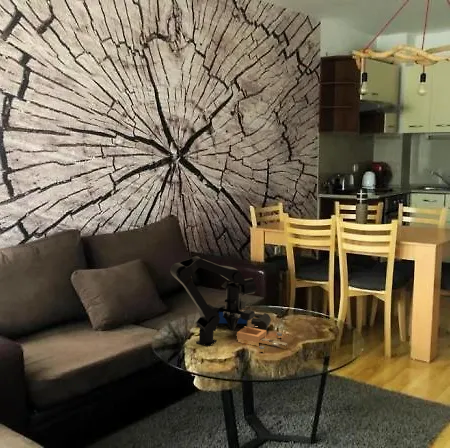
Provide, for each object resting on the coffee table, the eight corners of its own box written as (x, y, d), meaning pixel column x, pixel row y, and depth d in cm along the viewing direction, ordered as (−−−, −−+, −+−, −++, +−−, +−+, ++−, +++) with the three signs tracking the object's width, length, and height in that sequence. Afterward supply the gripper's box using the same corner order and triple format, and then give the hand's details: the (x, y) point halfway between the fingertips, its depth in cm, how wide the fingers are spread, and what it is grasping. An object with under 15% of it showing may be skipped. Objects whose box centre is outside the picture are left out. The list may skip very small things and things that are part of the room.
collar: (258, 347, 233) (258, 336, 232) (237, 342, 238) (237, 332, 237) (266, 340, 240) (266, 330, 239) (245, 336, 245) (245, 326, 244)
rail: (276, 356, 223) (277, 350, 223) (227, 345, 234) (227, 339, 234) (294, 341, 239) (294, 335, 238) (247, 331, 250) (247, 325, 250)
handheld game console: (248, 320, 264) (248, 302, 262) (246, 331, 251) (246, 311, 249) (215, 319, 265) (215, 301, 263) (211, 330, 252) (211, 310, 250)
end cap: (266, 335, 245) (266, 320, 244) (251, 334, 247) (251, 319, 246) (270, 327, 255) (271, 313, 253) (255, 326, 256) (255, 311, 255)
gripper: (260, 294, 242) (260, 328, 245) (223, 288, 251) (223, 321, 254) (248, 301, 233) (248, 337, 236) (210, 295, 242) (210, 329, 245)
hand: (232, 330), depth 243 cm, fingers closed
